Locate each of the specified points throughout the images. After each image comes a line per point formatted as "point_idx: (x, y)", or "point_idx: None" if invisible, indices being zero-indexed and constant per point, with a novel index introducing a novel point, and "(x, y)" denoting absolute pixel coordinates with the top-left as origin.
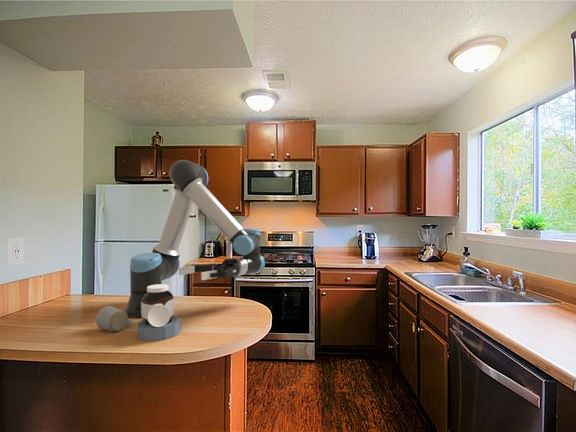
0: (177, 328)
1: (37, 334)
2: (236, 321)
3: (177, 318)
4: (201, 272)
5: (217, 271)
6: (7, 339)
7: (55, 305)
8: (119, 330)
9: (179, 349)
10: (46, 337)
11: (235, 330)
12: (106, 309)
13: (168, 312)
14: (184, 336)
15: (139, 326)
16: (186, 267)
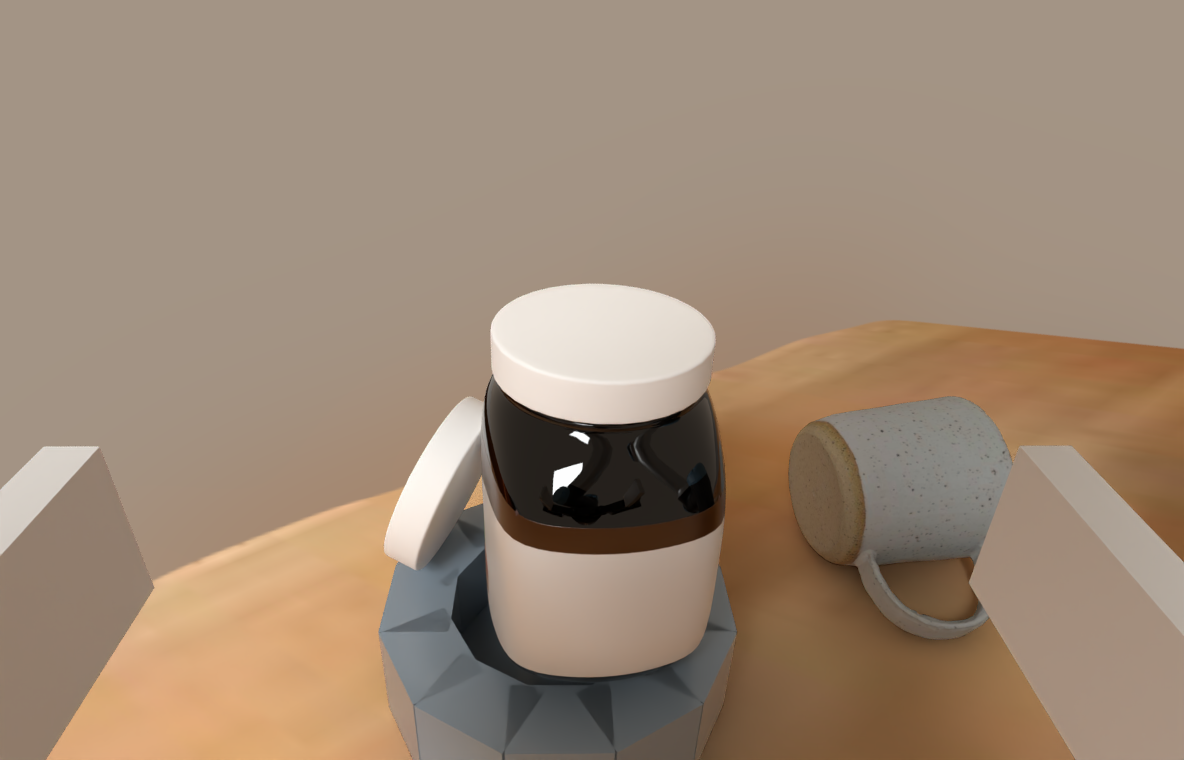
0: (400, 707)
1: (1001, 376)
2: None
3: (495, 731)
4: (86, 447)
5: None
6: (983, 331)
7: None
8: (808, 541)
9: (175, 605)
10: (930, 381)
11: None
12: (921, 404)
13: (414, 522)
14: (309, 754)
15: None
16: (1139, 605)
